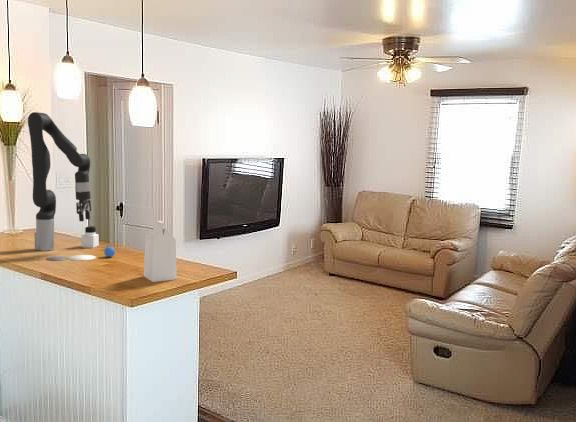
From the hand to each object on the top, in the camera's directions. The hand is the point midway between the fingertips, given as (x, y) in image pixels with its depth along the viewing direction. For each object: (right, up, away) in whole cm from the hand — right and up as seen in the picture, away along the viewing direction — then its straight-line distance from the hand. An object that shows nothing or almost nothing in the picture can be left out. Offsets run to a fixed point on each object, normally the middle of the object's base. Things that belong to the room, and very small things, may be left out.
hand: (84, 220), depth 303 cm
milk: (+52, -26, -49) cm, 76 cm away
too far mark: (-8, -20, -17) cm, 27 cm away
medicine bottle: (-4, -16, +19) cm, 25 cm away
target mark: (+3, -20, -12) cm, 23 cm away
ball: (+16, -17, -8) cm, 24 cm away
